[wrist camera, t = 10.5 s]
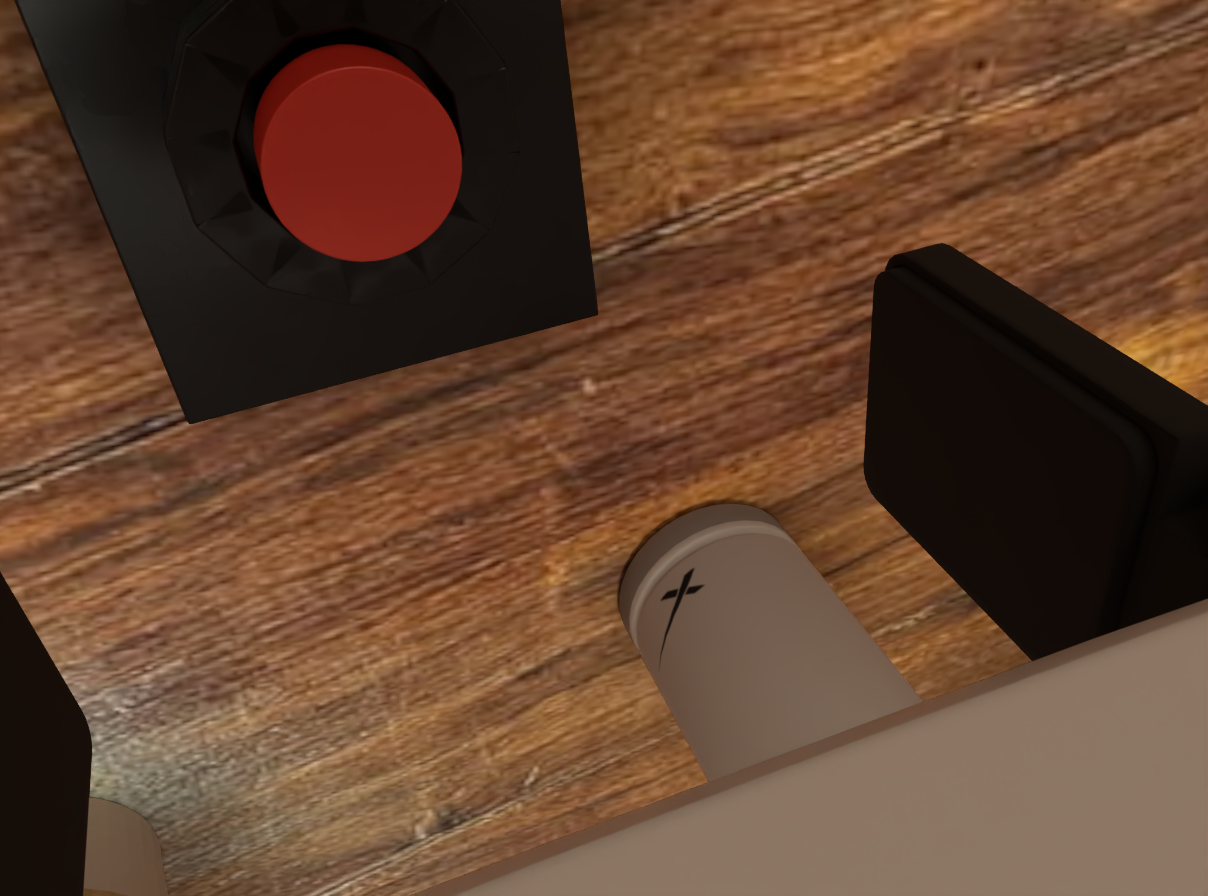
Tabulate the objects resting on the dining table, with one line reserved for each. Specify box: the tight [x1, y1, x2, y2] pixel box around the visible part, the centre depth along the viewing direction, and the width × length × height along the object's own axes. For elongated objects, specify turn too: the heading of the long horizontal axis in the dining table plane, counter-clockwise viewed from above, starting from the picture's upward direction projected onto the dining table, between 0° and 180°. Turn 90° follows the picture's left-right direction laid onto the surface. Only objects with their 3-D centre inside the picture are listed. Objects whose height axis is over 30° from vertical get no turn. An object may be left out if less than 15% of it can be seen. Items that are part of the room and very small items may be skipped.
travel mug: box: [619, 503, 923, 782], centre depth 28 cm, size 6×7×20 cm
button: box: [253, 44, 462, 262], centre depth 20 cm, size 4×4×2 cm
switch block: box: [14, 0, 598, 424], centre depth 22 cm, size 12×10×4 cm
